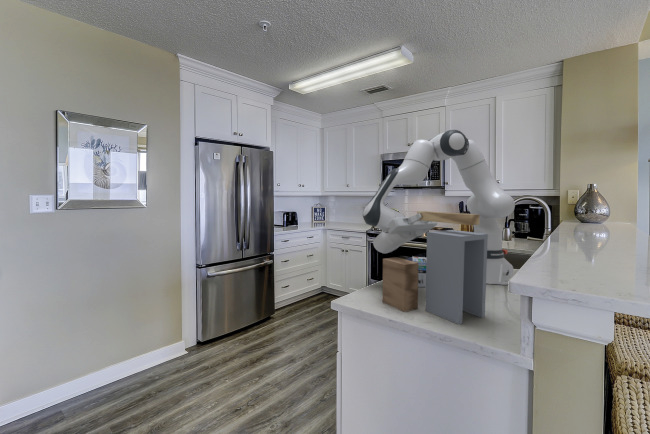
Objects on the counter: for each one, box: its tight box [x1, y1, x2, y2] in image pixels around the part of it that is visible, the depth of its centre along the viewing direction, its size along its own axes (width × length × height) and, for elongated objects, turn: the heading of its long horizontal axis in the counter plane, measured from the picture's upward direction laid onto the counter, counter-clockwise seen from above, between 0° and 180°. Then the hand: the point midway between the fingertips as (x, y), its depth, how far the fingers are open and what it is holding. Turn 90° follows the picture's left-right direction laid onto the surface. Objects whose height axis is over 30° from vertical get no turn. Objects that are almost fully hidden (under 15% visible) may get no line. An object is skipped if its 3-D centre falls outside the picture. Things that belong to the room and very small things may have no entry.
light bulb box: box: [411, 256, 427, 288], centre depth 136 cm, size 11×7×11 cm, turn 168°
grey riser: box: [424, 229, 488, 325], centre depth 102 cm, size 12×13×26 cm
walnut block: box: [381, 256, 419, 313], centre depth 110 cm, size 6×11×16 cm, turn 29°
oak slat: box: [416, 210, 480, 226], centre depth 104 cm, size 4×22×3 cm, turn 29°
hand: (426, 214), depth 111 cm, fingers closed on oak slat, 3 cm apart
